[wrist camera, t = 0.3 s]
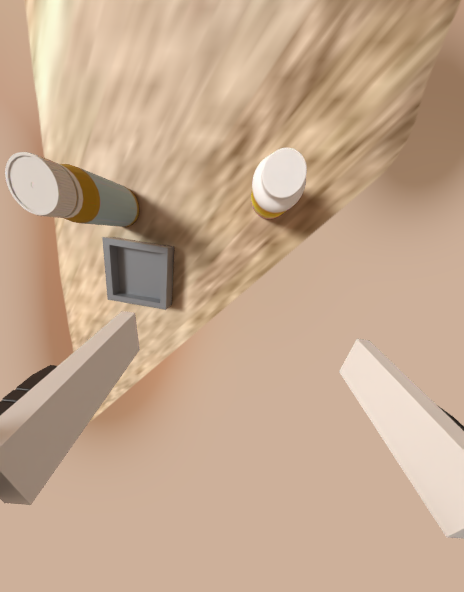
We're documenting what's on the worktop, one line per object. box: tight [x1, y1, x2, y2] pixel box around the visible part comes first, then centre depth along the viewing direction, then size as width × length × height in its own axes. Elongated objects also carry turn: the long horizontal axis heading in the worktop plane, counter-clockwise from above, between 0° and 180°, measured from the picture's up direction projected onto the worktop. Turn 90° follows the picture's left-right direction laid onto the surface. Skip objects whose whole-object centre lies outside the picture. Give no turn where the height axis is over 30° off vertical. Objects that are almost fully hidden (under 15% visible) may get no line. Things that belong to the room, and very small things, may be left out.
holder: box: [103, 237, 174, 310], centre depth 36 cm, size 12×12×3 cm
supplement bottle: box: [251, 148, 307, 219], centre depth 25 cm, size 7×7×13 cm
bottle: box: [5, 152, 139, 226], centre depth 27 cm, size 7×7×15 cm
